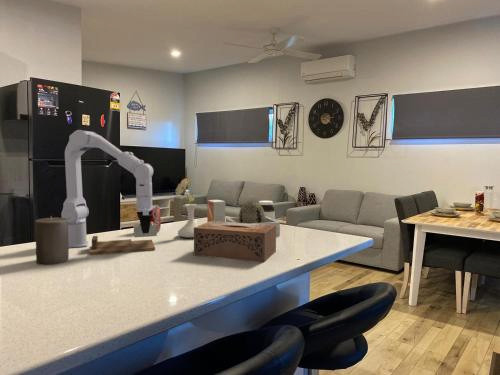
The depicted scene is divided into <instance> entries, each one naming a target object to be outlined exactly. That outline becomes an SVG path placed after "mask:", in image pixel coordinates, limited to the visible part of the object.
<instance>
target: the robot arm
mask: <svg viewBox="0 0 500 375" xmlns="http://www.w3.org/2000/svg"><path fill="white" fill-rule="evenodd" d="M68 137H69V138H68V142H67V145H66V147H65V150H64V161H65V162H64V164H65V182H66V198H65V200H64V202H63V204H62V205H63V206H62V211H61V213H60V214H61V218H66V219H68V248H69V249H70V248H82V247H88V244H89V240H87V217H88V216H89V213H90V211H89V207H88V206H87V201H86V199H85V198H84V197H83V180H82V179H83V177H82V160H81V158H82V155H83V154H85V152H87V151H90V150H92V149H93V148H97V149H100V150H102V151H103V152H105V153H106V154H109V155H110V156H112V157H113V158H115V159H116V160H117V164H118V165H120V166H121V167H122V168H124V169H126V170H127V171H129V172H130V173H131V174H133V176H134V178H135V180H136V181H135V182H136V183H135V186H136V187H135V189H136V192H135V193H136V208H135V210H136V215H137V218H138V220H139V224H141V228H142V232H143V233H149V229H150V223H151V220H152V218H153V215H151V213H152V211H151V210H152V209H156V207H152V205H153V182H152V180H153V179H152V177H153V174H154V173H155V172H154V168H153V166H152V165H151V164H150V163H146V162H145V161H144V160H143V159H139V158H138V157H137V156H135V155H134V153H133V152H131V151H122V150H121V149H119V148H118V147H117V146H115V145H114V144H112V143H111V142H110V141H109V140H106V139H105V138H104V137H103V136H102V135H100V134H98V133H96V132H95V131H88V130H82V129H77V130H75V131H73V133H71V134H70V135H69V136H68Z"/></svg>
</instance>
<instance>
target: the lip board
mask: <svg viewBox="0 0 500 375" xmlns="http://www.w3.org/2000/svg"><path fill="white" fill-rule="evenodd" d="M150 251H156V246H155V245H154V241H153V239H143V240H132V239H131V238H130V239H129V238H128V239H115V240H102V241H101V240H98V235H93V236H92V237H91V247H90V251H89V254H90V256H93V255H94V256H96V255H107V254H109V255H110V254H120V253H121V254H123V253H137V252H150Z"/></svg>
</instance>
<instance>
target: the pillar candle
mask: <svg viewBox="0 0 500 375" xmlns="http://www.w3.org/2000/svg"><path fill="white" fill-rule="evenodd" d="M34 224H35V226H34V229H35V230H34V231H35V233H34V235H35V258H36V261H35V263H36V264H37V265H41V264H43V266H45V265H58V264H61V263H62V264H63V263H65V262H67V261H69V254H70V253H69V249H70V248H68V219H66V218H62V217H52V216H50V217H46V218H44V217H43V218H38V219H36V220H35V221H34Z"/></svg>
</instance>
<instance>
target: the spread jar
mask: <svg viewBox="0 0 500 375" xmlns="http://www.w3.org/2000/svg"><path fill="white" fill-rule="evenodd" d="M258 203H260V205H261V206H262V207H263V210H264V213H265V216H266V217H269V218H271V219H273V220H276V216H275V215H276V214H275V212H276V211H275V207H274V205H273V203H274V202H273V200H259V201H258Z"/></svg>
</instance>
